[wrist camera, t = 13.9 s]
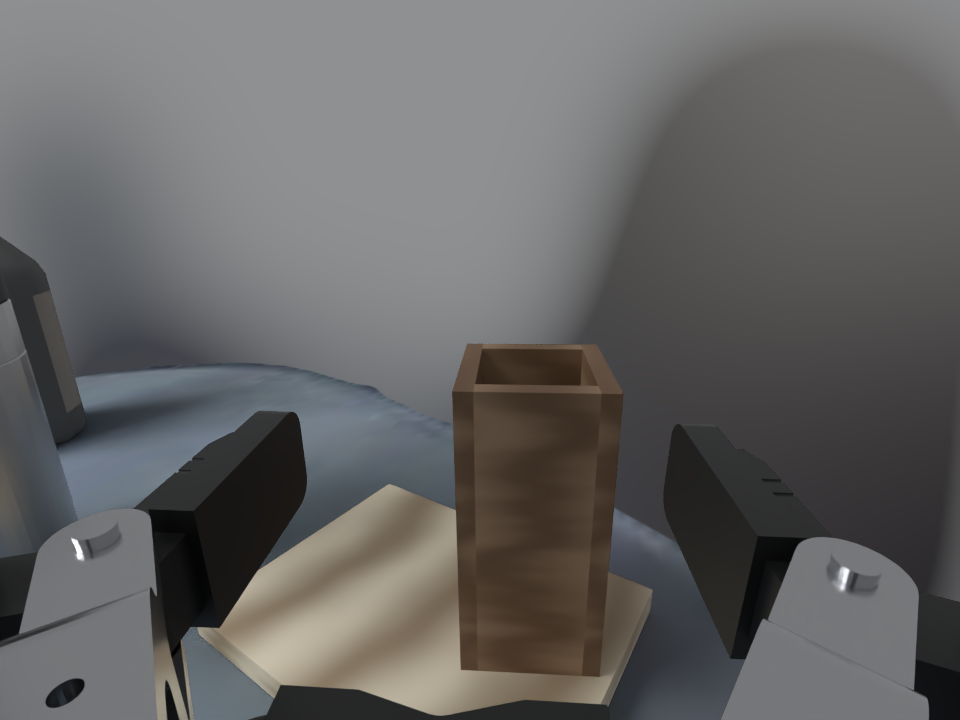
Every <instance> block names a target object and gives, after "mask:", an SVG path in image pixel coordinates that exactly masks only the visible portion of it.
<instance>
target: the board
mask: <svg viewBox="0 0 960 720" xmlns="http://www.w3.org/2000/svg"><path fill="white" fill-rule="evenodd" d="M652 592H653V590H652V589H650V588H647V587H645V586H642V585H640V584H637V583H635V582H632V581H630V580H627V579H625V578H623V577H620V576H618V575H615V574H613V573H610V572H608V583H607V594H606V606H605V618H604V630H603V642H602V653H601V665H600V677H589V676H569V675H550V674H530V673H510V672H491V671H471V670H461V662H460V629H459V596H458V563H457V530H456V510H454V509H451V508H449V507H446V506H444V505H441V504H439V503H436V502H434V501H431V500H429V499H426V498H424V497H421V496H419V495H416V494H414V493H411V492H409V491H406V490H404V489H401V488H399V487H396V486H394V485H391V484H388V485H387V486H385V487H384V488H382V489H381V490H379V491H378V492H376V493H375V494H373V495H372V496H370V497H368V498H367V499H365V500H364V501H362V502H361V503H359V504H358V505H356V506H355V507H353V508H352V509H350V510H349V511H347V512H346V513H344V514H343V515H341V516H340V517H338V518H337V519H335V520H334V521H332V522H331V523H329V524H328V525H326V526H325V527H323V528H322V529H320V530H319V531H317V532H316V533H314V534H312V535H311V536H309V537H308V538H306V539H305V540H303V541H302V542H300V543H299V544H297V545H296V546H294V547H293V548H291V549H290V550H288V551H287V552H285V553H284V554H282V555H281V556H279V557H278V558H276V559H275V560H273V561H272V562H270V563H269V564H267V565H266V566H264V567H263V568H261V569H260V570H258V571H257V572H256V574H255V575H254V577H253V578H252V580H251V581H250V583H249V584H248V586H247V587H246V589H245V591H244V592H243V594H242V595H241V597H240V598H239V600H238V601H237V603H236V604H235V606H234V607H233V609H232V610H231V612H230V613H229V615H228V616H227V618H226V619H225V621H224V622H223V624H222V626H221V627H220V628H205V627H197V628H198V632H199V635H200V636H201V637H203V638H204V639H205V640H206V641H207V642H208V643H210V644H211V645H212V646H213V647H214V648H215V649H217V650H218V651H219V652H220V653H221V654H223V655H224V656H225V657H226V658H227V659H228V660H230V661H231V662H232V663H233V664H234V665H235V666H237V667H238V668H239V669H240V670H241V671H243V672H244V673H245V674H246V675H247V676H248V677H250V678H251V679H252V680H253V681H254V682H255V683H257V684H258V685H259V686H260V687H261V688H263V689H264V690H265V691H266V692H267V693H268V694H270V695H271V696H272V697H273V698H275V696H276V694H277V692H278V690H279V687H280V685H293V686H310V687H326V688H342V689H359V690H362V691H365V692H367V693H370V694H373V695H376V696H379V697H382V698H385V699H388V700H390V701H393V702H396V703H399V704H402V705H405V706H408V707H411V708H414V709H416V710H419V711H422V712H425V713H428V714H432V715H438V716H443V715H450V714H455V713H460V712H465V711H470V710H475V709H480V708H485V707H490V706H495V705H500V704H505V703H510V702H515V701H520V700H539V701H555V702H572V703H588V704H604V705H607V706H609V704H610V702H611V699H612V697H613V695H614V692H615V690H616V688H617V686H618V683H619V681H620V679H621V676H622V674H623V672H624V670H625V667H626V665H627V663H628V660H629V658H630V656H631V654H632V651H633V649H634V647H635V644H636V642H637V640H638V638H639V635H640V633H641V631H642V629H643V626H644V624H645V622H646V619H647V617H648V615H649V613H650V609H651V600H652Z"/></svg>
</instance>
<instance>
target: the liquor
mask: <svg viewBox="0 0 960 720" xmlns="http://www.w3.org/2000/svg"><path fill="white" fill-rule="evenodd" d="M0 267H1V271H2V275H3V278H4V281H5V284H6V287H7V291H8V294H9V297H8V298H9V299H10V300H11V303H12V306H13V310H14V313H15V316H16V319H17V323H18V326H19V329H20V332H21V336H22V339H23V342H24V345H25V349H26V351H27V354H28V357H29V360H30V364H31V367H32V370H33V373H34V377H35V380H36V383H37V386H38V390H39V393H40V396H41V399H42V403H43V406H44V409H45V412H46V416H47V419H48V422H49V425H50V429H51V432H52V435H53V438H54V442H55V445H56V444H59V443H62V442H65V441H68V440H71V439H72V438H73V437H74V436H75V435H77V434H78V433H79V432H80V431H81V430H83V428H84V425H85V423H86V420H87V419H86V416H85V412H84V408H83V405H82V401H81V398H80V394H79V391H78V387H77V384H76V380H75V377H74V373H73V369H72V366H71V363H70V359H69V355H68V352H67V348H66V345H65V341H64V338H63V334H62V331H61V327H60V323H59V320H58V316H57V313H56V309H55V306H54V302H53V299H52V295H51V291H50V288H49V284H48V281H47V277H46V274H45V272H44V271H43V270H42V269H41V267H40V266H39V265H38V263H37V262H36V261H35V260H33V259H32V258H31V257H29V256H28V255H26V254H25V253H23V252H22V251H20V250H19V249H17V248H16V247H15V246H13V245H12V244H10V243H9V242H7V241H6V240H4V239H2V238H1V237H0Z"/></svg>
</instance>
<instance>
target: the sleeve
mask: <svg viewBox="0 0 960 720" xmlns="http://www.w3.org/2000/svg"><path fill="white" fill-rule="evenodd" d="M452 398H453V431H454V464H455V497H456V530H457V563H458V596H459V629H460V662H461V670H471V671H491V672H510V673H530V674H550V675H569V676H589V677H600V665H601V653H602V642H603V630H604V618H605V606H606V594H607V583H608V571H609V559H610V547H611V536H612V524H613V512H614V500H615V488H616V477H617V465H618V453H619V440H620V429H621V418H622V405H623V392H622V390H621V388H620V387H619V385H618V383H617V381H616V379H615V377H614V376H613V374H612V372H611V370H610V368H609V366H608V364H607V363H606V361H605V359H604V357H603V355H602V353H601V351H600V350H599V348H598V346H597V345H558V344H553V345H551V344H467V346H466V350H465V353H464V356H463V359H462V362H461V365H460V369H459V372H458V375H457V378H456V381H455V385H454V388H453V391H452Z"/></svg>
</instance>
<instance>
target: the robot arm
mask: <svg viewBox="0 0 960 720" xmlns="http://www.w3.org/2000/svg"><path fill="white" fill-rule="evenodd" d="M8 297H9V294H8V291H7V287H6V284H5V281H4V278H3V275H2V271H1V267H0V720H194V717H193V710H192V702H191V694H190V687H189V679H188V671H187V664H186V656H185V650H184V647H183V643H182V638H183V636H184V635H185V634H186V632H187V631H188V630H189V628H190V627H205V628H220V627H221V626H222V624H223V622H224V621H225V619H226V618H227V616H228V615H229V613H230V612H231V610H232V609H233V607H234V606H235V604H236V603H237V601H238V600H239V598H240V597H241V595H242V594H243V592H244V591H245V589H246V587H247V586H248V584H249V583H250V581H251V580H252V578H253V577H254V575H255V574H256V572H257V571H258V569H259V568H260V566H261V565H262V563H263V562H264V560H265V559H266V557H267V556H268V554H269V553H270V551H271V549H272V548H273V546H274V545H275V543H276V542H277V540H278V539H279V537H280V536H281V534H282V533H283V531H284V530H285V528H286V527H287V525H288V524H289V522H290V521H291V519H292V518H293V516H294V514H295V513H296V511H297V510H298V508H299V507H300V505H301V504H302V501H303V499H304V496H305V492H306V485H307V474H306V466H305V458H304V451H303V443H302V435H301V428H300V421H299V418H298V416H297V414H296V413H294V412H277V411H258V412H256V413H255V414H254V415H253V416H251V417H250V418H249V419H248V420H247V421H246V422H245V423H244V424H243V425H241V426H240V427H239V428H238V429H237V430H236V431H235V432H232V433H230V434H228V435H226V436H224V437H222V438H220V439H218V440H216V441H214V442H212V443H210V444H208V445H207V446H206V447H205V448H203V449H202V450H201V451H200V452H199V453H198V454H196V455H195V456H194V457H193V458H192V461H188V462H187V463H186V464H185V465H184V466H182V467H181V468H180V469H179V472H178V473H174V474H173V475H172V476H171V477H170V478H168V479H167V480H166V481H165V482H164V483H163V484H162V485H160V486H159V487H158V488H157V489H156V490H155V491H153V492H152V493H151V494H150V495H149V496H148V497H146V498H145V499H144V500H143V501H142V502H141V503H139V504H138V505H137V506H136V507H135V508H134V509H115V510H109V511H105V512H101V513H97V514H94V515H91V516H88V517H85V518H83V519H80V520H78V518H77V515H76V511H75V508H74V505H73V501H72V497H71V494H70V490H69V487H68V484H67V481H66V477H65V474H64V471H63V468H62V464H61V461H60V458H59V455H58V451H57V448H56V445H55V442H54V438H53V435H52V432H51V429H50V425H49V422H48V419H47V416H46V412H45V409H44V406H43V403H42V399H41V396H40V393H39V390H38V386H37V383H36V380H35V377H34V373H33V370H32V367H31V364H30V360H29V357H28V354H27V351H26V349H25V345H24V342H23V339H22V336H21V332H20V329H19V326H18V323H17V319H16V316H15V313H14V310H13V306H12V303H11V300H10V299H9V298H8ZM664 509H665V514H666V518H667V521H668V523H669V525H670V527H671V529H672V532H673V534H674V536H675V538H676V540H677V543H678V545H679V547H680V549H681V551H682V554H683V556H684V558H685V560H686V562H687V564H688V567H689V569H690V571H691V573H692V575H693V578H694V580H695V582H696V584H697V586H698V589H699V591H700V593H701V595H702V597H703V600H704V602H705V604H706V606H707V608H708V611H709V613H710V615H711V617H712V619H713V621H714V624H715V626H716V628H717V630H718V632H719V635H720V637H721V639H722V641H723V643H724V646H725V648H726V650H727V652H728V654H729V657H730V658H732V659H746V660H745V662H744V665H743V667H742V669H741V672H740V674H739V677H738V679H737V682H736V684H735V687H734V689H733V692H732V694H731V696H730V699H729V701H728V704H727V706H726V709H725V711H724V714H723V716H722V718H721V720H960V602H957V601H954V600H950V599H946V598H942V597H937V596H933V595H929V594H925V593H922V592H918V589H917V588H916V585H915V583H914V582H913V580H912V579H911V577H910V576H909V575H908V574H906V572H905V571H904V570H902V569H901V568H900V567H899V566H898V565H896V564H895V563H893V562H892V561H890V560H889V559H888V558H886V557H884V556H883V555H881V554H879V553H877V552H875V551H873V550H871V549H869V548H866V547H864V546H861V545H859V544H856V543H852V542H849V541H845V540H841V539H835V538H833V537H832V536H831V535H830V533H829V532H828V531H827V530H826V529H825V528H824V527H823V526H822V525H821V524H820V522H819V521H818V520H817V519H816V518H815V517H814V516H813V515H812V513H811V512H810V511H809V510H808V509H807V508H806V507H805V506H804V505H803V503H802V502H801V501H800V500H799V499H798V498H797V497H794V496H793V492H792V491H791V490H790V489H789V488H788V487H787V486H786V485H785V483H781V479H780V478H779V477H778V476H777V475H776V474H775V472H774V471H773V470H772V469H771V468H770V467H769V466H768V465H767V464H766V463H765V462H763V461H762V460H760V459H758V458H757V457H755V456H753V455H752V454H750V453H748V452H747V451H745V450H744V449H736V448H735V447H734V446H733V445H732V444H731V442H730V441H729V440H728V439H727V438H726V437H725V435H724V434H723V433H722V432H721V430H720V429H719V428H718V427H717V426H715V425H697V424H694V425H693V424H677V425H676V426H675V427H674V429H673V432H672V437H671V444H670V450H669V457H668V464H667V471H666V478H665V485H664ZM249 720H610V717H609V711H608V706H607V705H604V704H588V703H572V702H555V701H539V700H520V701H515V702H510V703H505V704H500V705H495V706H490V707H485V708H480V709H475V710H470V711H465V712H460V713H455V714H450V715H443V716H438V715H432V714H428V713H425V712H422V711H419V710H416V709H414V708H411V707H408V706H405V705H402V704H399V703H396V702H393V701H390V700H388V699H385V698H382V697H379V696H376V695H373V694H370V693H367V692H365V691H362V690H359V689H342V688H326V687H310V686H293V685H280V687H279V690H278V692H277V694H276V696H275V698H274V700H273V703H272V705H271V707H270V709H269V711H268V713H267V715H264V716H259V717H256V718H252V719H249Z"/></svg>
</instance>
